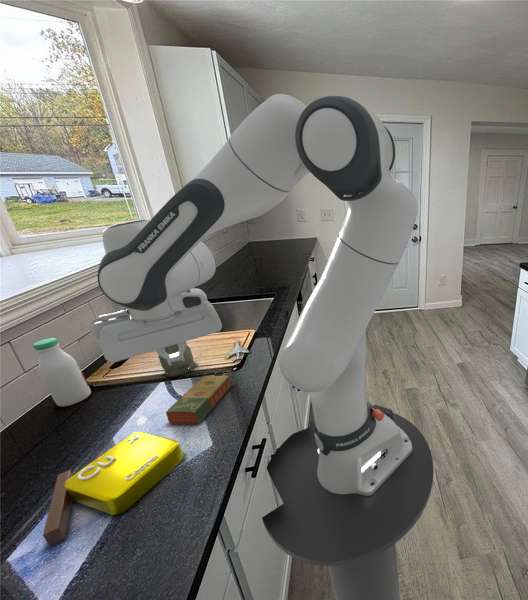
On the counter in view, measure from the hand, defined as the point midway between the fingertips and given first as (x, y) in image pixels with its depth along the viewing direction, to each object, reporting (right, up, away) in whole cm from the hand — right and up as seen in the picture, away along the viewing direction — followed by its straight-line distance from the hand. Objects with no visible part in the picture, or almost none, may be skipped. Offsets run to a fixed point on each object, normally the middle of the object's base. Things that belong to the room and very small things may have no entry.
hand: (176, 362), depth 68 cm
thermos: (-27, -11, +40) cm, 50 cm away
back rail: (-18, -28, -6) cm, 34 cm away
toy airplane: (-12, -6, +48) cm, 50 cm away
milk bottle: (-51, -17, +28) cm, 60 cm away
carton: (-8, -17, +22) cm, 29 cm away
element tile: (-10, -25, +1) cm, 27 cm away
